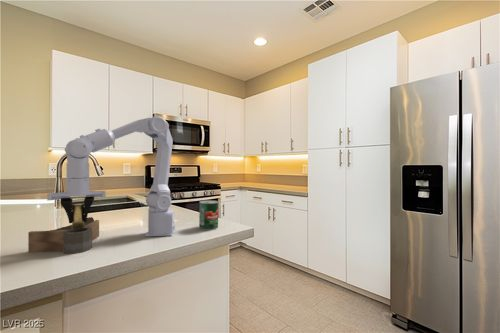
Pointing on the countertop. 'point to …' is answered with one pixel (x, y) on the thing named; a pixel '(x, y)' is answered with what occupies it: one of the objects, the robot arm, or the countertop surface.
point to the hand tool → (71, 225)
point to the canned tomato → (208, 215)
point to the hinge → (64, 239)
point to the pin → (77, 216)
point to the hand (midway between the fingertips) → (78, 221)
